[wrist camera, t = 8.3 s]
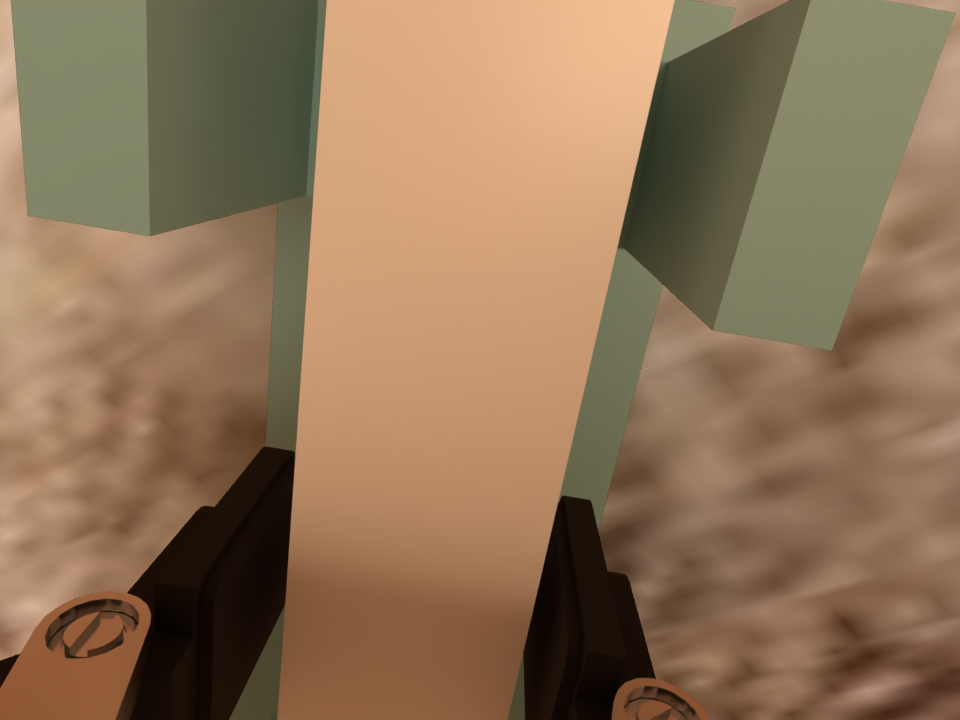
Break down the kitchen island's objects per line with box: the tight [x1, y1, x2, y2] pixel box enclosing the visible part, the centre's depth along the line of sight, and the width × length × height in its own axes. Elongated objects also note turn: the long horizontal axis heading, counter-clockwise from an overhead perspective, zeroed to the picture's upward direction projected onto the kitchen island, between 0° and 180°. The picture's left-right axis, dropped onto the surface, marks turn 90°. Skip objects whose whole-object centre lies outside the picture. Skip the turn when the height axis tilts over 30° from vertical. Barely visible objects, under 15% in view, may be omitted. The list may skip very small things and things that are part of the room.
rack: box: [11, 0, 956, 720], centre depth 13 cm, size 10×22×11 cm, turn 171°
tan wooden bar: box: [277, 0, 675, 720], centre depth 11 cm, size 5×25×5 cm, turn 171°
